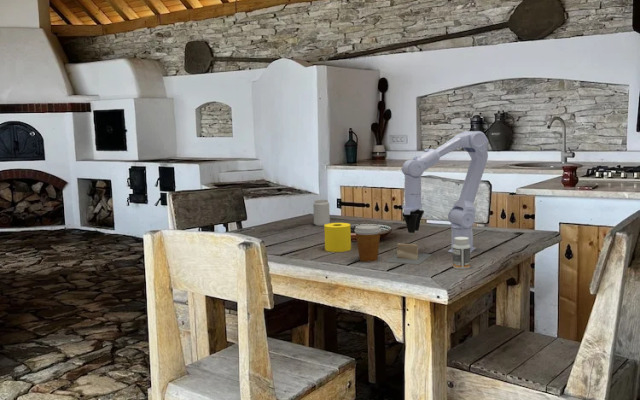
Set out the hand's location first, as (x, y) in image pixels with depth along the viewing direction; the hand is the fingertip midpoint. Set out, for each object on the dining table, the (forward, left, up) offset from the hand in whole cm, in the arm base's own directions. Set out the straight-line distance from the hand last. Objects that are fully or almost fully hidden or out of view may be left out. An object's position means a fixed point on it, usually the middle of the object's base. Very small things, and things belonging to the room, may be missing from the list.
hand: (413, 231), depth 220 cm
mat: (+5, 0, -9) cm, 10 cm away
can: (-48, -61, -9) cm, 78 cm away
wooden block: (+6, 0, -8) cm, 10 cm away
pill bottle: (+11, +20, -9) cm, 25 cm away
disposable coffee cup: (+11, -13, -9) cm, 19 cm away
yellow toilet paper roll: (-2, -31, -9) cm, 32 cm away
